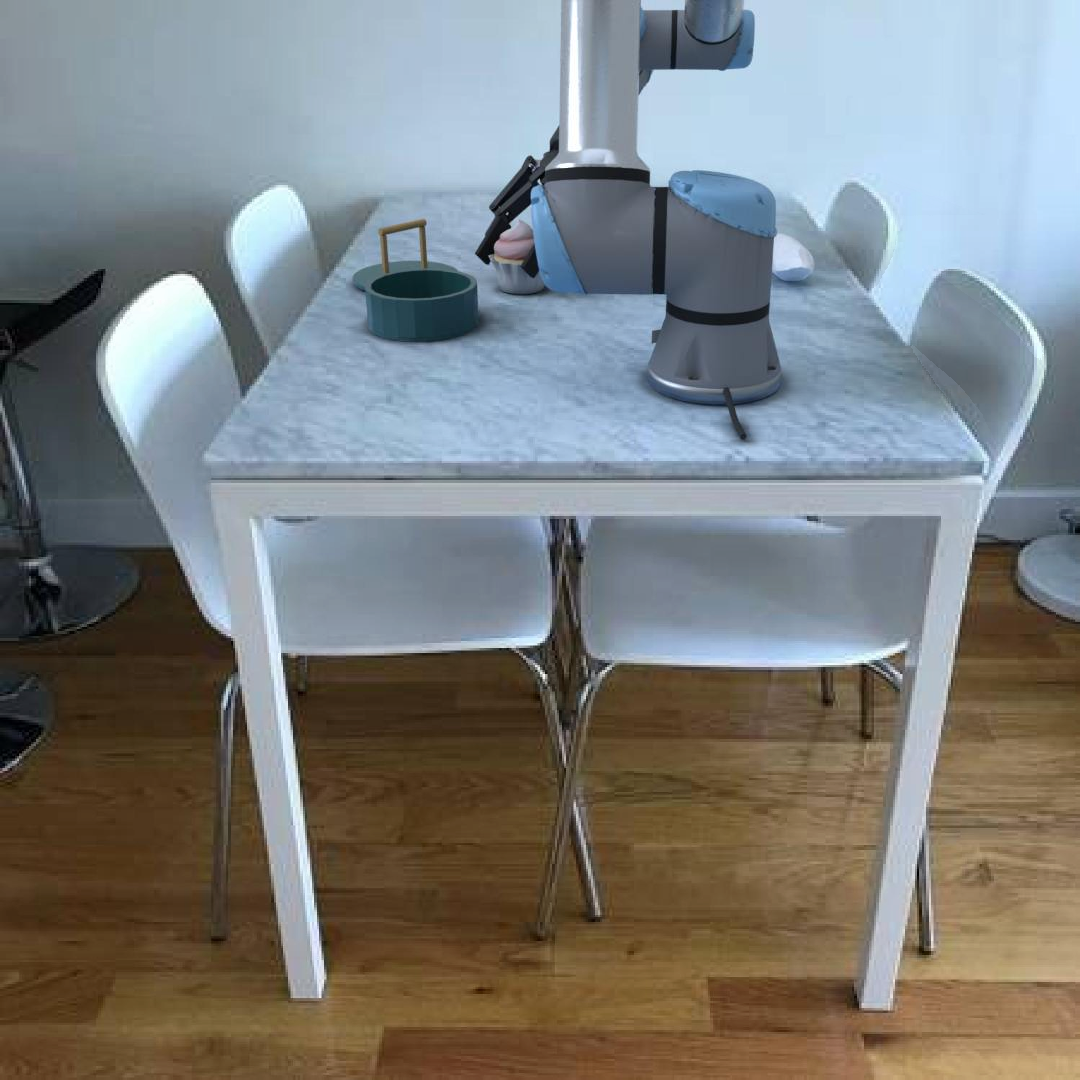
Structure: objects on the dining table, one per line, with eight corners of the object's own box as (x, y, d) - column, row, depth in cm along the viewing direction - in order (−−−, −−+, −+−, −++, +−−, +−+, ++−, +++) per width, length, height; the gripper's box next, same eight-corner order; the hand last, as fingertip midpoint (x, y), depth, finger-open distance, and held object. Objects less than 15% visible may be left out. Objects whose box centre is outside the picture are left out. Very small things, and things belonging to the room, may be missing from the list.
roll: (780, 293, 174) (783, 253, 171) (757, 270, 185) (760, 232, 182) (822, 291, 175) (825, 251, 172) (796, 268, 185) (799, 231, 182)
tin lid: (480, 282, 181) (478, 223, 177) (395, 305, 172) (391, 242, 168) (415, 262, 191) (412, 206, 187) (332, 283, 182) (326, 223, 178)
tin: (500, 323, 164) (499, 283, 161) (413, 349, 155) (410, 307, 152) (432, 301, 173) (430, 262, 171) (346, 324, 165) (343, 284, 162)
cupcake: (514, 276, 184) (513, 208, 179) (566, 285, 179) (565, 216, 174) (476, 291, 177) (473, 221, 172) (528, 302, 172) (526, 230, 167)
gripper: (652, 160, 172) (571, 296, 170) (546, 141, 186) (469, 266, 184) (627, 126, 166) (542, 265, 164) (519, 109, 180) (440, 237, 178)
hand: (504, 265), depth 174 cm, fingers closed on cupcake, 9 cm apart
